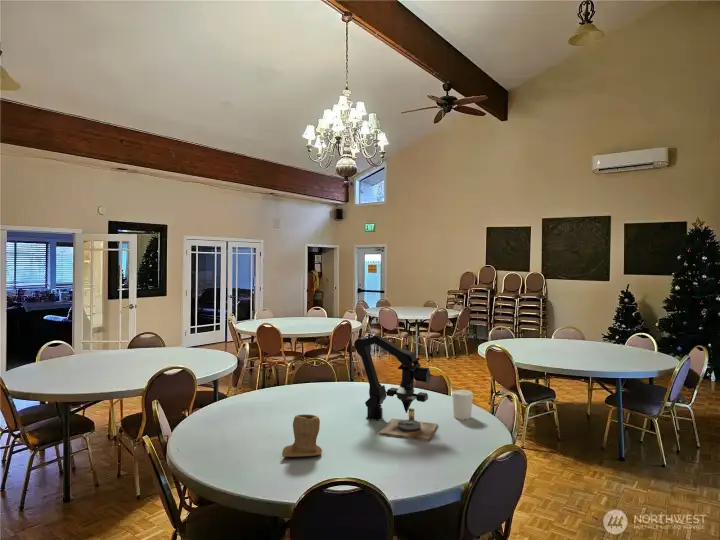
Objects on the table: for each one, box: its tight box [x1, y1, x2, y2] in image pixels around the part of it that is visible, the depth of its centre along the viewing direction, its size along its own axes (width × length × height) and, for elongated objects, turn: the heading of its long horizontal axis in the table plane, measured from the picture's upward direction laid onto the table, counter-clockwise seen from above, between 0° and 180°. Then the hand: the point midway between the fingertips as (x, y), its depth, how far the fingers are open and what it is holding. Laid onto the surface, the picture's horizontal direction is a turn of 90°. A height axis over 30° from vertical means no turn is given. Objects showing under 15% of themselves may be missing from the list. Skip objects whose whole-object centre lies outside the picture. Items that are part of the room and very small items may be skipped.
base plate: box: [378, 418, 439, 442], centre depth 207 cm, size 22×20×1 cm
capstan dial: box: [398, 407, 421, 432], centre depth 209 cm, size 14×10×6 cm
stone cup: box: [281, 413, 323, 458], centre depth 180 cm, size 15×12×15 cm
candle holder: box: [451, 389, 474, 420], centre depth 225 cm, size 10×10×12 cm
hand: (406, 412), depth 215 cm, fingers closed
